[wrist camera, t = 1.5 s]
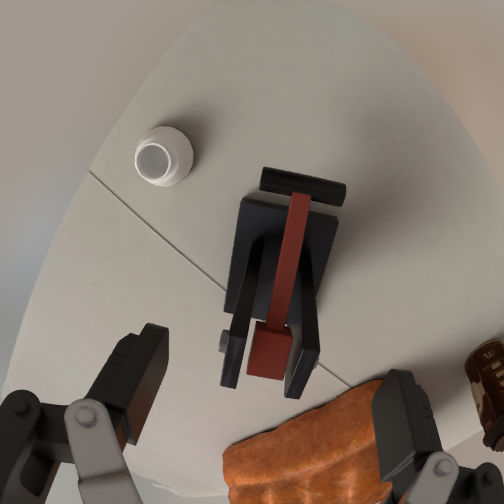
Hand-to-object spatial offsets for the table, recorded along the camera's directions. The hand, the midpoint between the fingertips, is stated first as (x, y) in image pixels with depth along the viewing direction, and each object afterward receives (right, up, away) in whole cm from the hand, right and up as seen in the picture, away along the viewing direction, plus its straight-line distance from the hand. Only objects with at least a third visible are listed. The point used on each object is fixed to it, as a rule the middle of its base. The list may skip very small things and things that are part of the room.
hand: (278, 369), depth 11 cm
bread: (+9, -23, +30) cm, 39 cm away
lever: (+1, +3, +9) cm, 10 cm away
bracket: (+1, +3, +18) cm, 19 cm away
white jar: (-8, +12, +15) cm, 21 cm away
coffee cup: (+29, -10, +21) cm, 37 cm away
